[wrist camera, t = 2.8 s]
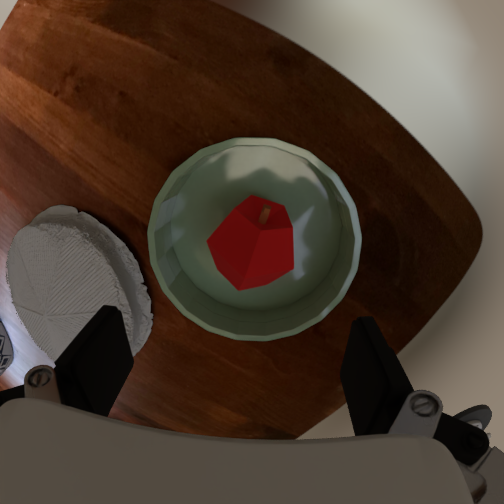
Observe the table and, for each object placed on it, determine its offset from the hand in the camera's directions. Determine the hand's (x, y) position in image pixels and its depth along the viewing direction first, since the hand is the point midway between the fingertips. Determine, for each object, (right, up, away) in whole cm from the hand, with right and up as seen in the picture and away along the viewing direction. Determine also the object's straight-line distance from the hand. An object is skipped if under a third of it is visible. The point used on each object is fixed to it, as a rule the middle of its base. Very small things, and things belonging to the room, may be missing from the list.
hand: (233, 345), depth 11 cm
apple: (+1, +5, +15) cm, 15 cm away
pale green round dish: (+1, +5, +15) cm, 16 cm away
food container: (-19, -1, +18) cm, 26 cm away
